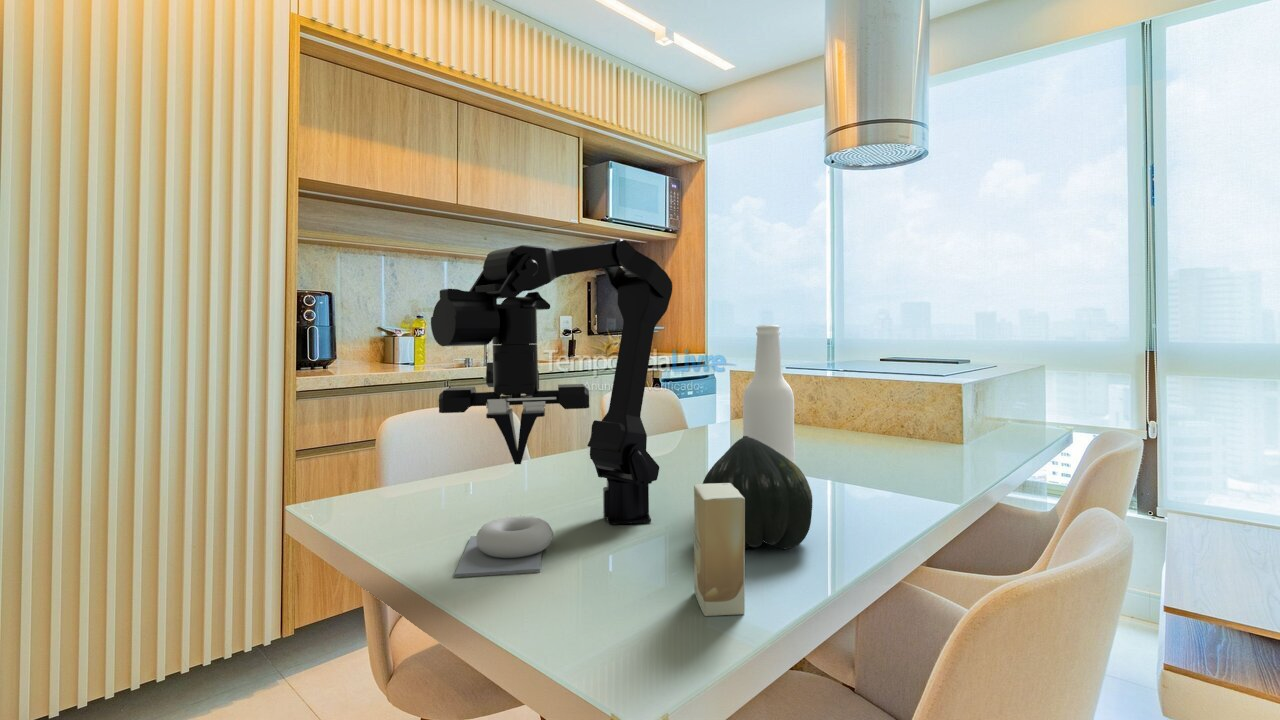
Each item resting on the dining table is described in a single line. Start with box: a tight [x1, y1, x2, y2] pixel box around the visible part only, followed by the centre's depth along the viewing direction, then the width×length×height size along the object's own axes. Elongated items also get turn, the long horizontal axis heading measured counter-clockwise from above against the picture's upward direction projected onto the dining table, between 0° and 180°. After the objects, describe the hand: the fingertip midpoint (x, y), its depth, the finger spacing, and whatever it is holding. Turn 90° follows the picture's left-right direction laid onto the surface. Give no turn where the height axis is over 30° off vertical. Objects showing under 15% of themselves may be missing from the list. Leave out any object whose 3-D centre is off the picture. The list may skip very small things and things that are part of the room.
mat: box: [454, 535, 542, 578], centre depth 81 cm, size 10×14×1 cm
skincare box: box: [693, 483, 746, 617], centre depth 65 cm, size 6×4×12 cm
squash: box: [702, 435, 813, 550], centre depth 85 cm, size 14×15×15 cm
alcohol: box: [742, 324, 795, 464], centre depth 108 cm, size 9×9×30 cm
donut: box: [475, 515, 554, 558], centre depth 82 cm, size 10×4×10 cm
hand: (517, 463), depth 81 cm, fingers closed
